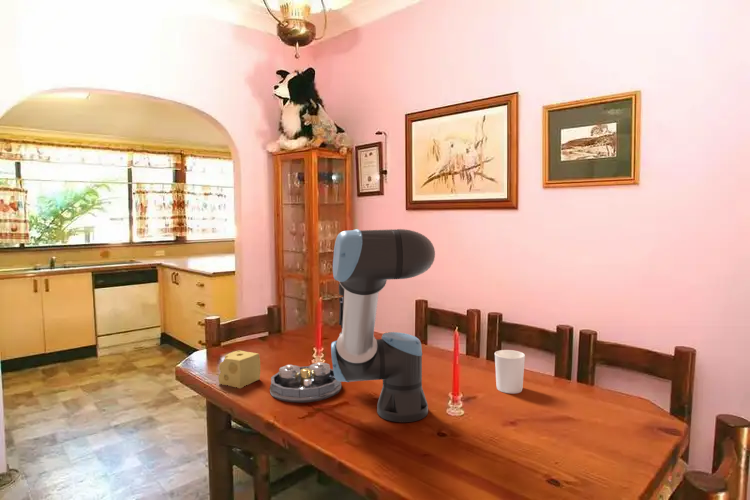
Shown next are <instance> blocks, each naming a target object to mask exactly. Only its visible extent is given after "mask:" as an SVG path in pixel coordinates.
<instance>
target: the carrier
mask: <svg viewBox="0 0 750 500" xmlns="http://www.w3.org/2000/svg"><path fill="white" fill-rule="evenodd" d="M270 383H271V384H270V386H269V392H270V396H272V397H273V398H274V399H276V400H279V401H281V402H282V401H283V402H288V403H300V404H301V403H311V402H312V403H313V402H319V401H323V400H326V399H329V398H332V397H334V396H335V395H338V394H339V392H340V391H341V390H342V382H339V381H337V380H336V379H335V377H334V372H333V368H331V364H329V363H327V362H322V361H317V362H315V363H312V364H310V365H308V366H307V365H306V366H299V365H295V364H294V365H293V364H286V365H284V366H280V367H279V369H278V372H277V373H275V374H273V375H272V376H271V377H270Z"/></svg>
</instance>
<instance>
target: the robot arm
mask: <svg viewBox="0 0 750 500" xmlns="http://www.w3.org/2000/svg"><path fill="white" fill-rule="evenodd" d="M332 258H333V259H332V274H333V275H332V276H333V279H334V280H335V281H338V283H339V284H338V295H340V296H342V297H338V300H339V315H338V316H339V317H338V325H339V326H340V328H341V332H342V334H341V335H340V334H339V336H338V337H337V340H334V341H331V344H330V353H331V363H332V369H333V372H334V377H335V379H336V380H337V381H339V382H341V383H342V382H346V383H351V382H365V381H377V380H378V381H379V380H382V387H381V390H380V394H379V397H378V400H377V404H376V407H377V408H376V413H377V414H378V416H379V417H380V418H381V419H384V420H386V421H389V422H393V423H412V422H417V421H420V420H422V419H424V418H426V417H427V416H428V413H429V404H428V401H427V399H426V395H425V392H424V389H423V373H422V372H423V364H422V363H423V361H422V359H423V351H422V350H423V349H422V342H421V340H420V338H418V337H417V336H415V335H411V334H410V333H405V332H398V331H396V332H394V331H389V332H385V333H383V334H382V335H381V338H377V339H376V337H375V336H374V335H375V327H376V318H377V317H376V316H377V308H378V302H379V292H381V291H382V290H383V289H384V288H385V287H386V284H387V281H388V280H389V281H390V280H405V279H406V280H407V279H411V278H414V277H418V276H419V275H422V274H424V273H426V272H427V271H428V270H429V269H430V268H431V267H432V265H433V264H434V261H435V258H436V251H435V247H434V245H433V243H432V241H431V240H430V239H429V238H428V237H427V236H426V235H424V234H422V233H420V232H418V231H414V230H411V229H404V228H403V229H401V228H398V229H369V230H367V229H366V230H365V229H364V230H363V229H362V230H360V229H359V228H356V229H353V230H352V229H351V230H348V229H347V230H343V231H341V232H339V233H338V234H337V235H336V239H335V242H334V247H333V257H332Z"/></svg>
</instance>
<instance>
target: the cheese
mask: <svg viewBox="0 0 750 500" xmlns="http://www.w3.org/2000/svg"><path fill="white" fill-rule="evenodd" d="M218 370H219V374H218V378H217V379H218V384H219V385H221V384H222V385H223V386H227V385H228V387H233V388H236V387H237V389H243V388H244V386H245V387H247V386H248V385H251V384H253V383H254V382H256V381H257V382H258V381H259V380H260V377H261V359H260V353H258V352H257V353H256V352H253V351H251V352H250V351H244V350H238V349H237V350H236V351H231V352H230V353H227V354H226V355H225V356H224V359H223V361H221V362H220V363H219V365H218ZM222 385H221V386H222ZM246 385H247V386H246Z"/></svg>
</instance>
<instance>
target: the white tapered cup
mask: <svg viewBox="0 0 750 500" xmlns="http://www.w3.org/2000/svg"><path fill="white" fill-rule="evenodd" d="M525 359H526V355H525V353H523V352H522V351H518V350H513V349H501V350H500V349H499V350H497V351H495V352H494V364H495V366H494V369H495V382H496V383H495V384H496V390H498V391H499V392H501V393H504V394H519V393H521V392H522V391H523V385H524V374H525V373H524V371H525Z"/></svg>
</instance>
